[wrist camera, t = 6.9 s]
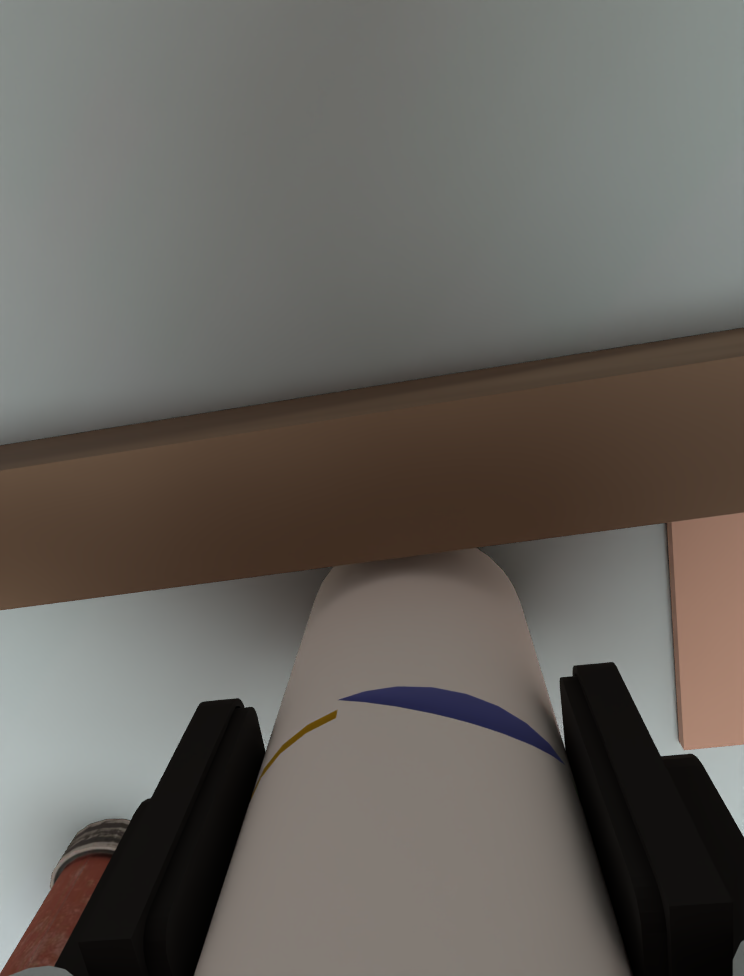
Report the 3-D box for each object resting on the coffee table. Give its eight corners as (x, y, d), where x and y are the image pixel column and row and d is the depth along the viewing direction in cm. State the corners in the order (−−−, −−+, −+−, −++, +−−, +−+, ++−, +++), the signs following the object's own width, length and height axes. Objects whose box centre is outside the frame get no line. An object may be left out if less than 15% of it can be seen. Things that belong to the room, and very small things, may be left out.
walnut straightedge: (-149, 469, 15) (-285, 514, 12) (1099, 271, 12) (1305, 269, 9) (-110, 573, 16) (-229, 640, 13) (1084, 406, 13) (1273, 443, 10)
